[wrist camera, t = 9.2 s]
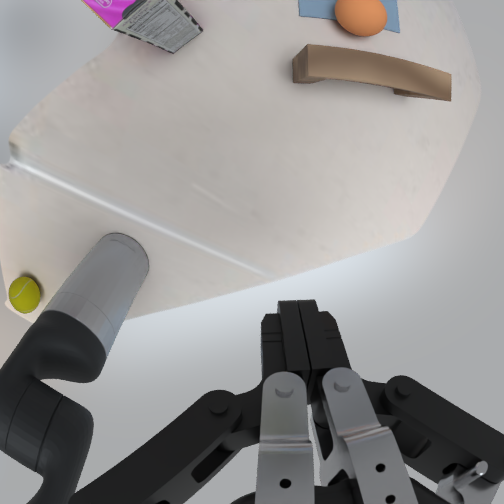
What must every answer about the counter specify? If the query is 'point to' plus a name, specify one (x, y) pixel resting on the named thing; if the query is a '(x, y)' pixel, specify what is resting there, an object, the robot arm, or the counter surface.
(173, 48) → the candy bar box
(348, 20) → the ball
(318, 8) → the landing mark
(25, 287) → the tennis ball
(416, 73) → the bridge
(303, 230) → the counter surface
